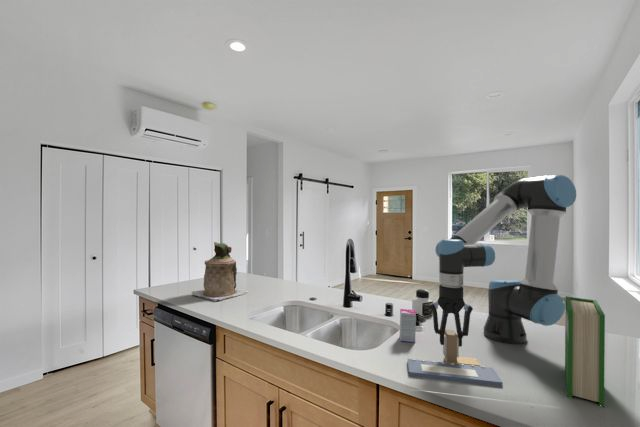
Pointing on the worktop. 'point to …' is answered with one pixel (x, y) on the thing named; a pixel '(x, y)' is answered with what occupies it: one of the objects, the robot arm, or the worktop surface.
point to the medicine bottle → (422, 303)
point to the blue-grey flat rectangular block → (454, 372)
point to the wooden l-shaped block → (452, 351)
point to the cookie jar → (220, 276)
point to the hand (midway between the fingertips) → (450, 354)
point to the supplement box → (407, 325)
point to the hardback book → (584, 349)
